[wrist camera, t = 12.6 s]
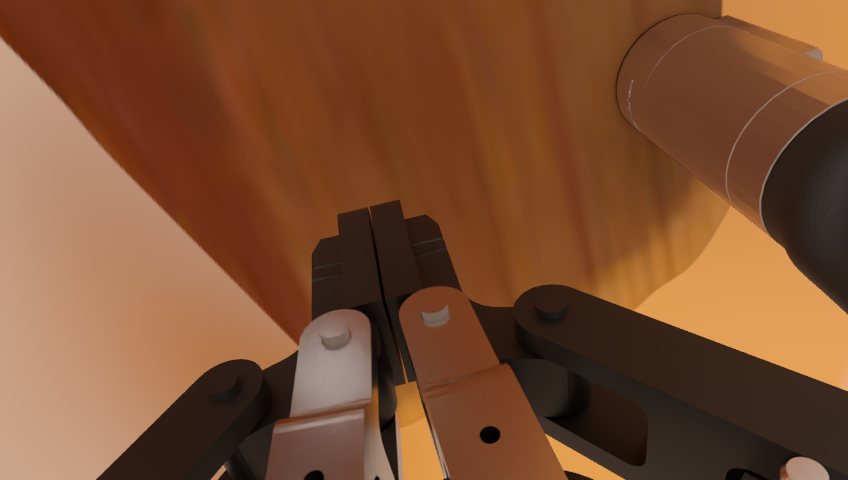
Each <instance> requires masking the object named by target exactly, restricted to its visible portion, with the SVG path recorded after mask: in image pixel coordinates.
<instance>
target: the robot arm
mask: <svg viewBox="0 0 848 480" xmlns="http://www.w3.org/2000/svg"><path fill="white" fill-rule="evenodd" d="M617 101H618V104H619V108H620V110H621V112H622V114H623V116H624V117H625V119H626V120H627V121H628V122H629V123H630V124H631V125H632V126H634V127H635V128H636V129H637V130H638V131H640V132H641V133H642V134H644V135H645V136H646V137H647V138H649V139H650V140H651V141H652V142H653V143H654V144H656V145H657V146H658V147H659V148H661V149H662V150H663V151H664V152H666V153H667V154H668V155H669V156H671V157H672V158H673V159H674V160H676V161H677V162H678V163H679V164H680V165H682V166H683V167H684V168H685V169H687V170H688V171H689V172H690V173H692V174H693V175H694V176H695V177H697V178H698V179H699V180H700V181H702V182H703V183H704V184H705V185H707V186H708V187H709V188H710V189H712V190H713V191H714V192H715V193H716V194H718V195H719V196H720V197H721V198H723V199H724V200H725V201H726V202H728V203H729V204H730V205H731V206H733V207H734V208H735V209H737V210H738V211H739V212H740V213H742V214H743V215H744V216H745V217H747V218H748V219H749V220H750V221H752V222H753V223H754V224H755V225H757V226H758V227H759V228H760V229H761V230H763V231H764V232H765V233H766V234H768V235H769V236H770V237H771V238H773V239H774V240H775V241H776V242H777V243H779V244H780V245H781V246H782V247H784V248H785V250H786V252H787V254H788V256H789V258H790V259H791V261H792V262H793V264H794V265H795V266H796V267H797V268H798V269H799V270H800V271H801V272H802V273H803V274H804V275H805V276H806V277H807V278H808V279H809V280H810V281H812V282H813V283H814V284H815V285H816V286H817V287H818V288H819V289H821V290H822V291H823V292H824V293H825V294H826V295H827V296H829V298H831V299H832V300H833V301H834V302H835V303H836V304H837V305H838V306H839V307H840V308H842V310H844V311H845V312H846V313H847V314H848V71H847V70H845V69H842V68H839V67H837V66H834V65H832V64H829V63H826V62H823V55H822V52H821V50H820V49H818V48H817V47H815V46H811V45H809V44H806V43H803V42H801V41H797V40H795V39H792V38H789V37H786V36H784V35H781V34H778V33H775V32H773V31H770V30H767V29H764V28H761V27H759V26H756V25H753V24H750V23H747V22H745V21H742V20H739V19H736V18H734V17H731V16H724V17H721V18H718V19H712V18H708V17H706V16H703V15H699V14H683V15H678V16H674V17H671V18H669V19H666V20H664V21H662V22H660V23H658V24H657V25H655V26H654V27H652V28H650V29H649V30H648V31H647V32H646V33H645V34H644V35H643V36H641V37H640V38H639V39H638V41H637V42H636V43H635V44H634V46H633V47H632V48H631V49H630V51H629V53H628V54H627V56H626V58H625V60H624V62H623V64H622V67H621V70H620V72H619V76H618V82H617ZM370 211H371V217H372V221H371V217H370V213H369V210H368V208H362V209H358V210H354V211H350V212H346V213H341V214H338V229H339V235H338V236H334V237H330V238H325V239H321V240H320V242H319V243H318V245H317V246H316V248H315V250H314V251H313V253H312V322H311V323H310V324H309V325H308V326H307V327H306V328H305V330H304V331H303V333H302V335H301V338H300V343H299V349H298V350H297V351H296V352H295V353H294V354H292V355H291V356H289V357H288V358H286V359H284V360H282V361H280V362H278V363H276V364H274V365H272V366H270V367H268V368H266V369H264V370H262V369H261V368H260V366H259V365H258V364H256V363H255V362H253V361H250V360H244V359H237V360H231V361H227V362H224V363H221V364H219V365H217V366H215V367H213V368H211V369H210V370H208V371H207V372H205V373H204V374H203V375H202V376H201V377H199V378H198V379H197V380H196V381H195V383H193V384H192V385H191V386H190V387H189V388H188V389H187V390H186V391H185V392H184V393H183V394H182V395H181V396H180V397H179V398H178V399H177V400H176V401H175V402H174V403H173V404H172V405H171V406H170V407H169V408H168V409H167V410H166V411H165V412H164V413H163V414H162V415H161V416H160V417H159V418H158V419H157V420H156V421H155V422H154V423H153V424H152V425H151V426H150V427H149V428H148V429H147V430H146V431H145V432H144V433H143V434H142V435H141V436H140V437H139V438H138V439H137V440H136V441H135V442H134V443H133V444H132V445H131V446H130V447H129V448H128V449H127V450H126V451H125V452H124V453H123V454H122V455H121V456H120V457H119V458H118V459H117V460H116V461H115V462H114V463H113V464H112V465H111V466H110V467H109V468H108V469H106V470H105V471H104V473H102V475H100V476H99V477H98V478H97V479H96V480H210V479H211V478H212V477H213V476H214V475H215V474H216V473H217V471H218V470H219V469H220V468H221V466H222V465H224V467H225V468H226V471H225V472H224V473H223V474H222V476H221V477H220V478H219V479H218V480H403V468H402V452H401V437H400V421H399V415H398V411H397V396H396V390H395V386H397V385H402V384H406V383H405V377H404V372H403V366H402V361H401V357H402V360H403V364H404V367H405V371H406V375H407V378H408V382H413V381H416V383H417V387H418V390H419V394H420V398H421V402H422V405H423V409H424V413H425V416H426V420H427V423H428V426H429V429H430V433H431V436H432V439H433V442H434V446H435V449H436V452H437V456H438V459H439V462H440V465H441V468H442V472H443V475H444V480H593V479H591V478H588V477H586V476H583V475H580V474H577V473H573V472H569V471H564V470H563V469H562V467H561V465H560V463H559V461H558V459H557V457H556V455H555V453H554V451H553V449H552V447H551V445H550V443H549V441H548V439H547V437H546V435H545V434H547V435H549V436H550V437H552V438H554V439H556V440H557V441H559V442H561V443H563V444H564V445H566V446H568V447H570V448H571V449H573V450H575V451H577V452H578V453H581V454H582V455H584V456H585V457H587V458H589V459H590V460H592V461H594V462H596V463H597V464H599V465H601V466H603V467H604V468H606V469H608V470H610V471H611V472H613V473H615V474H617V475H618V476H620V477H622V478H624V479H625V480H848V391H845V390H842V389H840V388H837V387H835V386H832V385H829V384H826V383H824V382H821V381H819V380H816V379H813V378H811V377H808V376H805V375H803V374H800V373H797V372H795V371H792V370H789V369H787V368H784V367H781V366H779V365H776V364H773V363H771V362H768V361H765V360H763V359H760V358H757V357H755V356H752V355H749V354H747V353H744V352H741V351H739V350H736V349H733V348H731V347H728V346H725V345H723V344H720V343H717V342H715V341H712V340H709V339H707V338H704V337H701V336H699V335H696V334H693V333H691V332H688V331H685V330H683V329H680V328H677V327H674V326H672V325H669V324H667V323H664V322H661V321H658V320H656V319H653V318H651V317H648V316H645V315H643V314H640V313H637V312H635V311H632V310H629V309H627V308H624V307H621V306H619V305H616V304H613V303H611V302H608V301H605V300H603V299H600V298H597V297H595V296H592V295H589V294H587V293H584V292H581V291H579V290H576V289H573V288H571V287H567V286H563V285H542V286H538V287H534V288H532V289H530V290H528V291H526V292H524V293H523V294H522V295H521V296H520V297H519V298H518V299H517V300H516V302H515V304H514V307H490V306H484V305H481V304H478V303H476V302H473V301H472V300H470V299H469V298H468V297H467V296H466V295H465V294H464V293H463V292H462V290H461V288H460V285H459V282H458V279H457V276H456V273H455V270H454V268H453V265H452V262H451V259H450V256H449V253H448V251H447V248H446V245H445V242H444V239H443V236H442V233H441V231H440V228H439V225H438V223H436V222H435V221H434V220H432V219H431V218H430V217H428V216H427V215H422V216H417V217H413V218H409V219H405V220H404V216H403V212H402V208H401V205H400V201H399V200H396V201H392V202H387V203H383V204H379V205H375V206H370ZM372 223H373V224H372ZM400 353H401V355H400Z"/></svg>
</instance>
